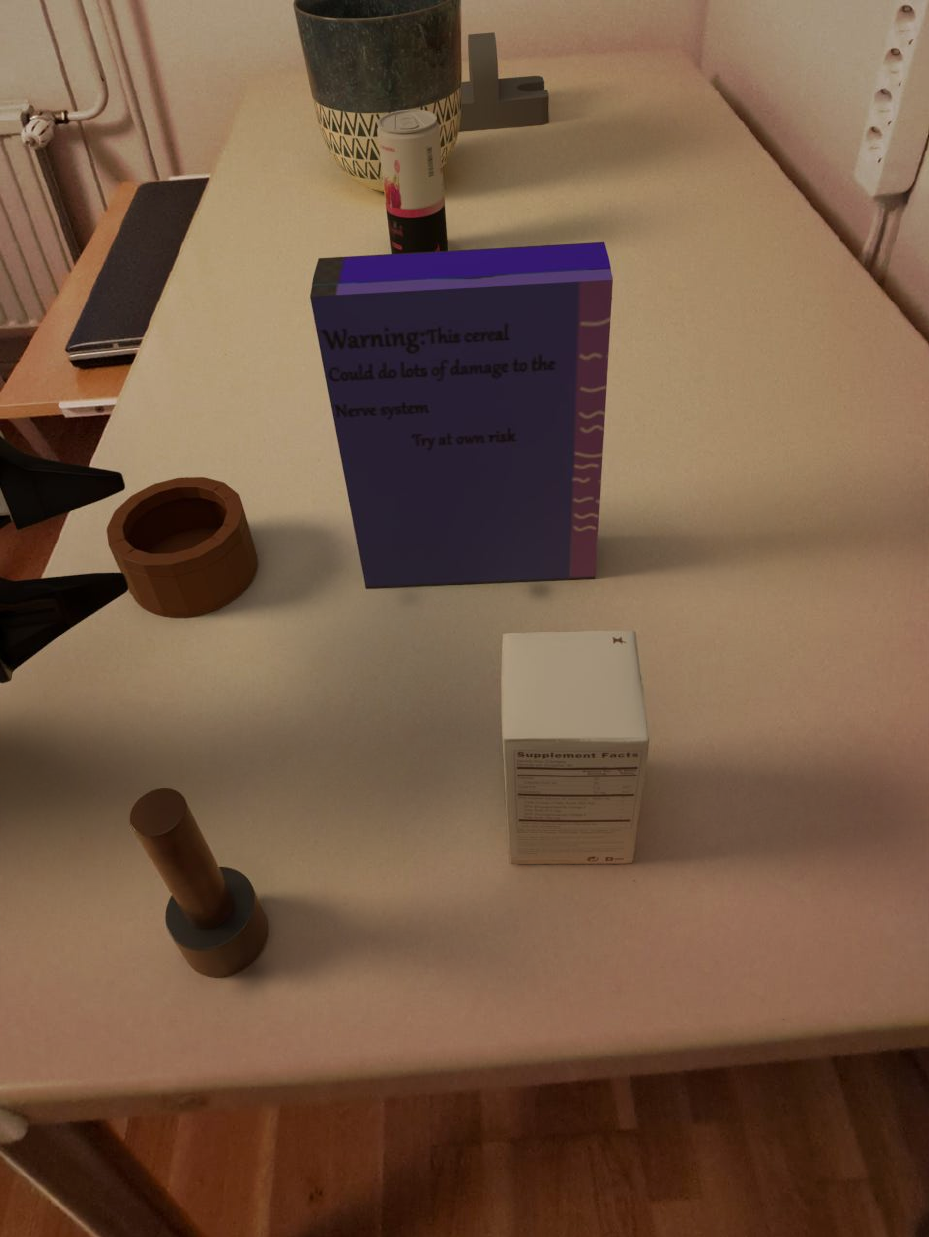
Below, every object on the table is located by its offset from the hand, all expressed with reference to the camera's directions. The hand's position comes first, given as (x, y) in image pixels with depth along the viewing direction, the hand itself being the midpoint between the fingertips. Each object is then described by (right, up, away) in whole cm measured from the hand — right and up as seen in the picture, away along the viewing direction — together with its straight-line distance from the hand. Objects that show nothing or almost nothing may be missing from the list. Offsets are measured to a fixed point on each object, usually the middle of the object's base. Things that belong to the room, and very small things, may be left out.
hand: (125, 528), depth 53 cm
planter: (+10, +52, +71) cm, 89 cm away
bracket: (+22, +69, +86) cm, 112 cm away
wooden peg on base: (+6, -23, -1) cm, 24 cm away
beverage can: (+14, +37, +55) cm, 68 cm away
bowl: (-2, -1, +20) cm, 20 cm away
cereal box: (+21, -1, +19) cm, 28 cm away
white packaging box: (+26, -17, +3) cm, 31 cm away
